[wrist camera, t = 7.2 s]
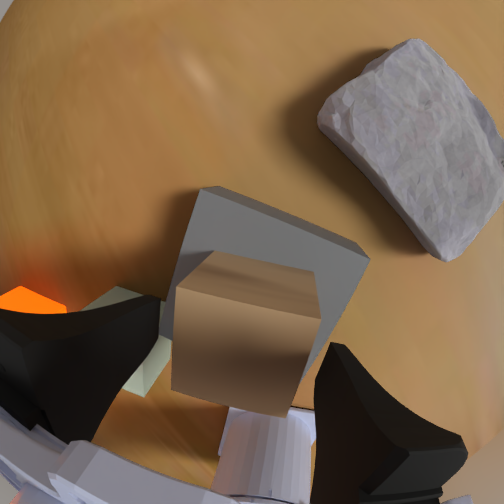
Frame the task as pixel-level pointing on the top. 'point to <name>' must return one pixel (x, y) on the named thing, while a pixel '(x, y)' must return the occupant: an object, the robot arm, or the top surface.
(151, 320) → the robot arm
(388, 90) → the stone block
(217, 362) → the walnut block
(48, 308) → the orange juice
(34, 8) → the top surface
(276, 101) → the top surface
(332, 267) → the charcoal block
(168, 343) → the sage block
